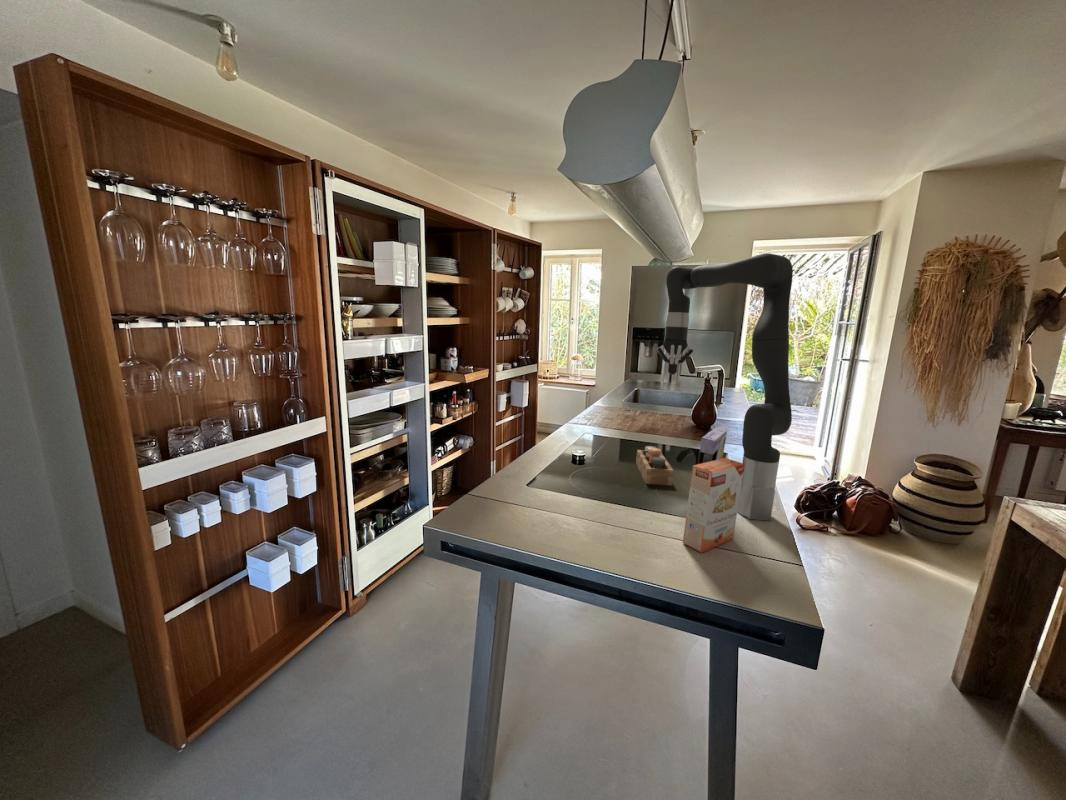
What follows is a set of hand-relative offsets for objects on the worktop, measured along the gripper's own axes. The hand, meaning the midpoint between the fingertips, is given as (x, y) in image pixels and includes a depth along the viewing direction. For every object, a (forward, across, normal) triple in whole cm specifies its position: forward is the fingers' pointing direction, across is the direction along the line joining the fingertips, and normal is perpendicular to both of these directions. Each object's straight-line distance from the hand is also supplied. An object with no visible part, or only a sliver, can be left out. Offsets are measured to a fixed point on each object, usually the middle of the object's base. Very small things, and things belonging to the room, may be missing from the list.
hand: (672, 374), depth 151 cm
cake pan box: (+37, +15, -6) cm, 41 cm away
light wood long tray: (+37, -4, -3) cm, 37 cm away
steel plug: (+37, -4, +4) cm, 37 cm away
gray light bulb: (+37, -4, -10) cm, 38 cm away
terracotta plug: (+35, -4, -3) cm, 36 cm away
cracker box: (+37, +1, -52) cm, 64 cm away
